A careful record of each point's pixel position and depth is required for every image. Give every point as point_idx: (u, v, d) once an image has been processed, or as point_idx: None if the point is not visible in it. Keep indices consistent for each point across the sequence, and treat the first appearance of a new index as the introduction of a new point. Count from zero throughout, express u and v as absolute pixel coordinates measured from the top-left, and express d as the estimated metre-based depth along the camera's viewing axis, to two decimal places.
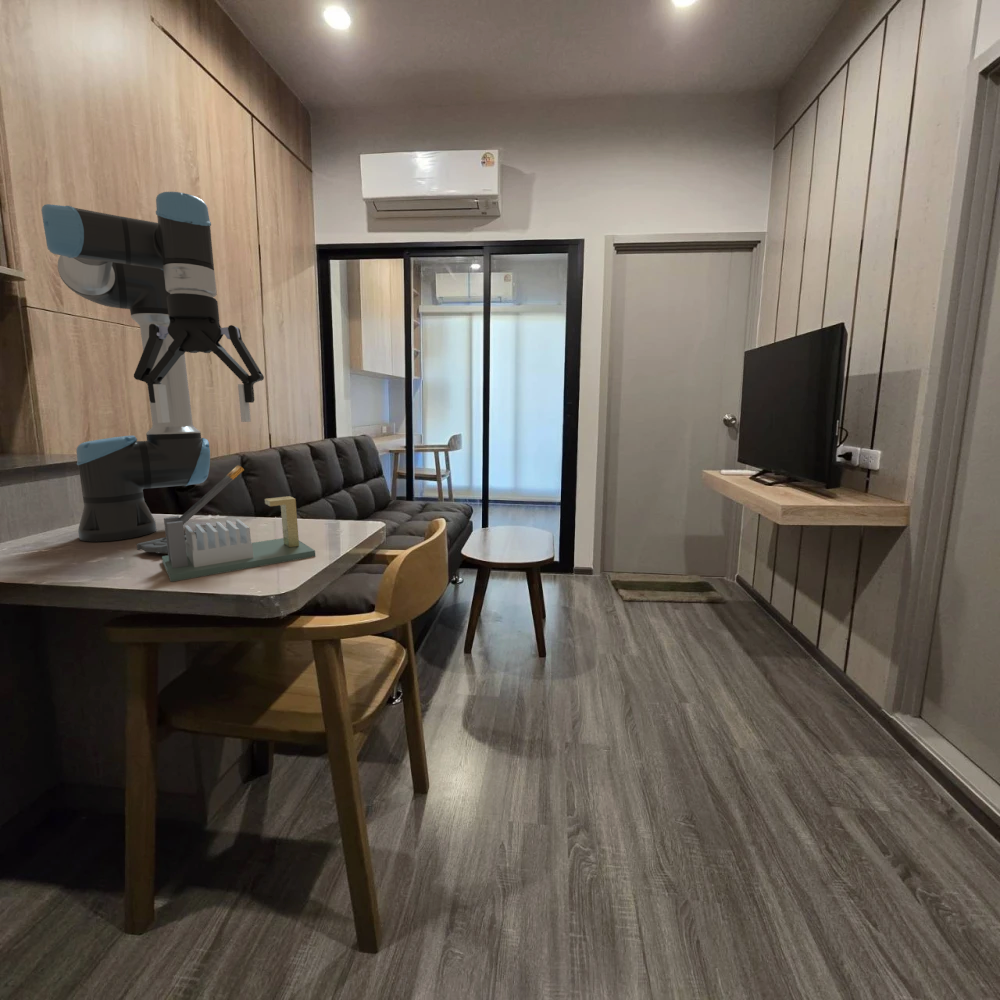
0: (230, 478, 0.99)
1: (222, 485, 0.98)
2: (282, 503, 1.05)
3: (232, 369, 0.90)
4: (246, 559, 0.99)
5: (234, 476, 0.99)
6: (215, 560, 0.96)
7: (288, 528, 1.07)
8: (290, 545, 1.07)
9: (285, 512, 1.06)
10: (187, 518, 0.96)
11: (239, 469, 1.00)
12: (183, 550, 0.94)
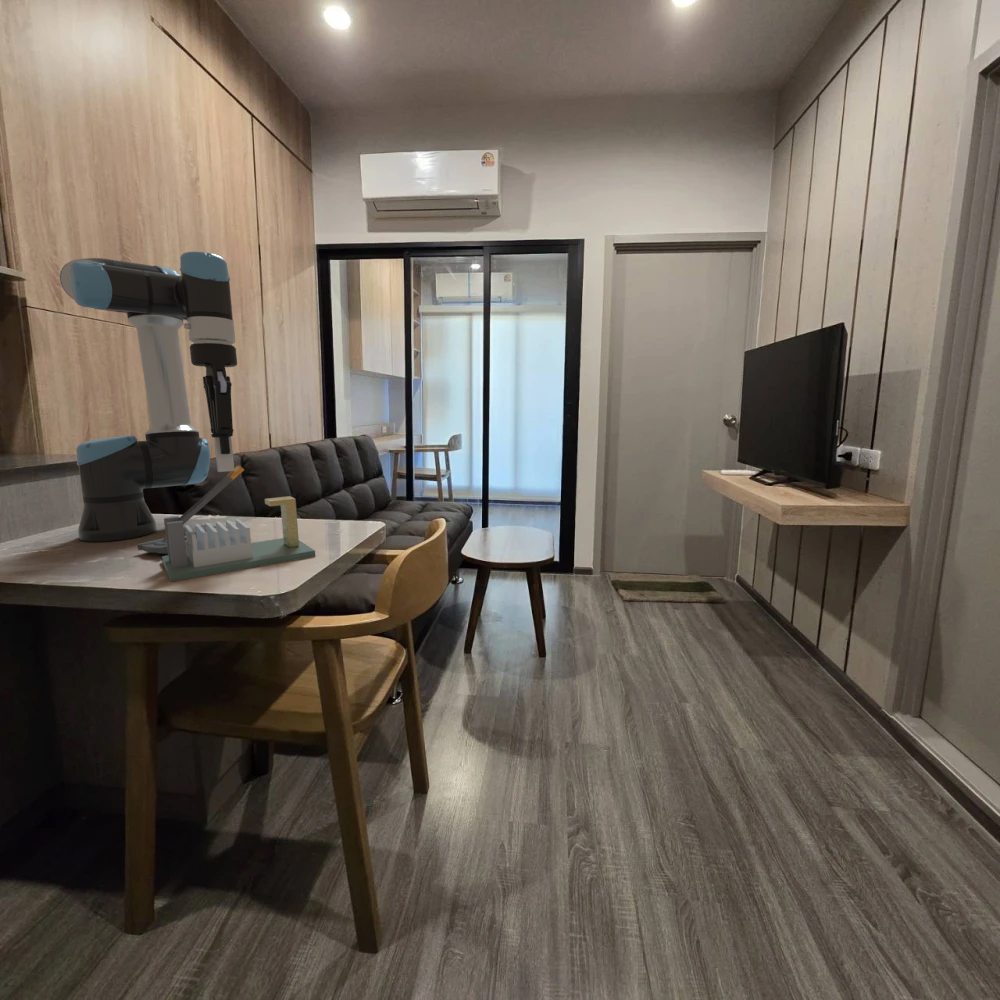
0: (230, 478, 0.99)
1: (222, 485, 0.98)
2: (282, 503, 1.05)
3: (214, 419, 0.97)
4: (246, 559, 0.99)
5: (234, 476, 0.99)
6: (215, 560, 0.96)
7: (288, 528, 1.07)
8: (290, 545, 1.07)
9: (285, 512, 1.06)
10: (187, 518, 0.96)
11: (239, 469, 1.00)
12: (183, 550, 0.94)
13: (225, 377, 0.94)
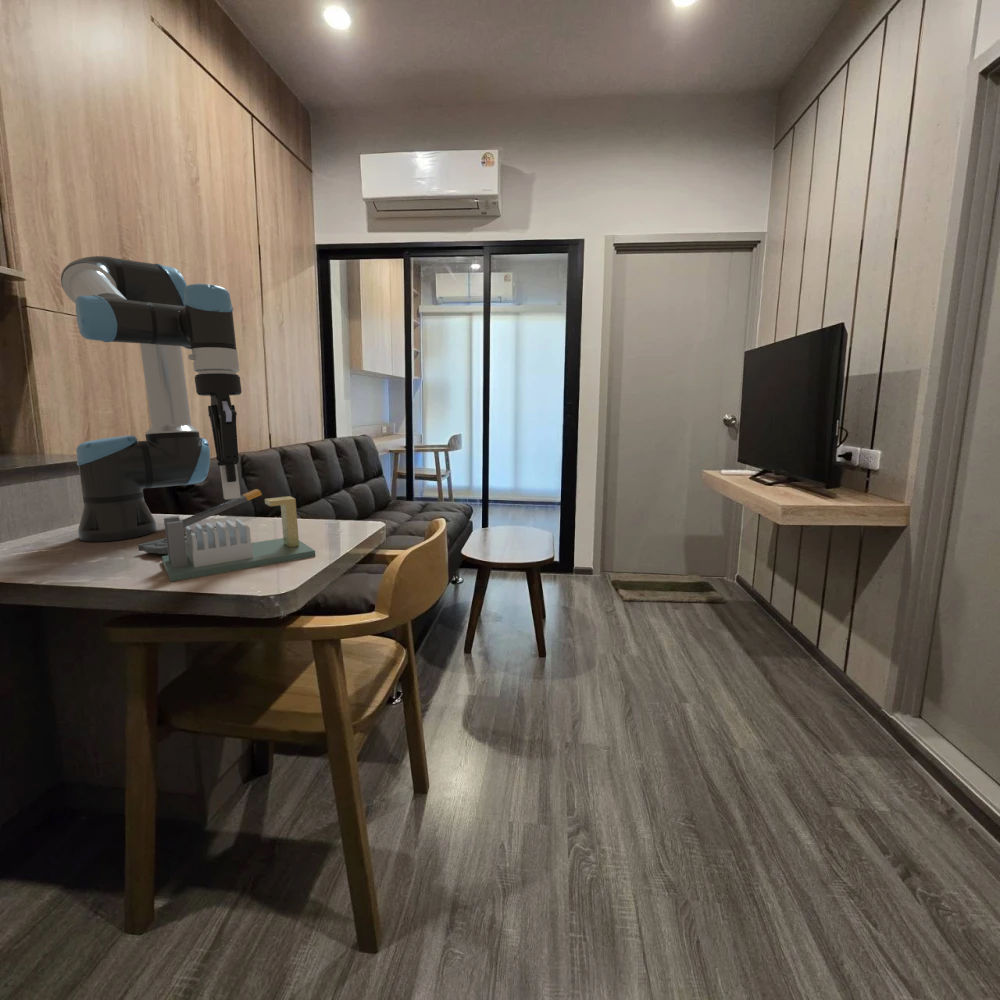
0: (246, 498, 1.01)
1: (236, 502, 1.00)
2: (282, 503, 1.05)
3: (220, 447, 0.97)
4: (246, 559, 0.99)
5: (250, 497, 1.02)
6: (215, 560, 0.96)
7: (288, 528, 1.07)
8: (290, 545, 1.07)
9: (285, 512, 1.06)
10: (190, 522, 0.96)
11: (257, 492, 1.02)
12: (183, 550, 0.94)
13: (230, 406, 0.95)
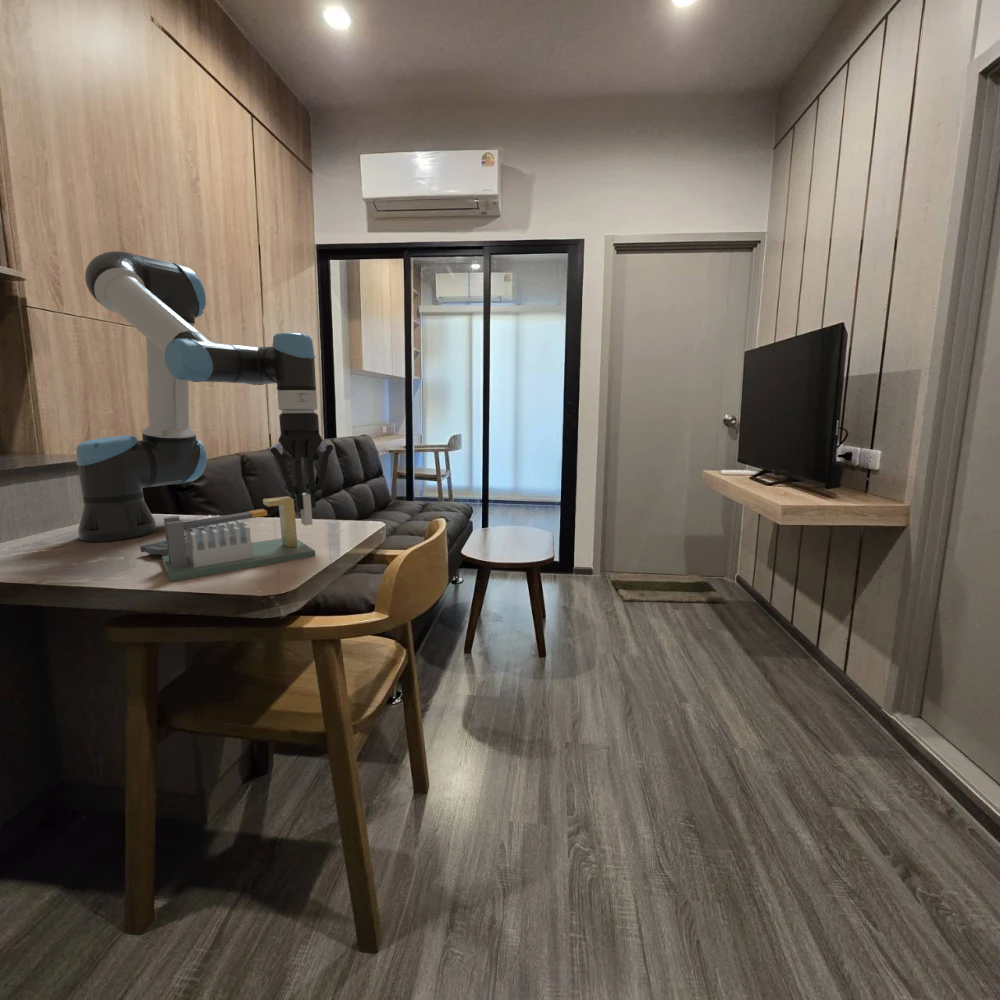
0: (251, 515, 1.02)
1: (241, 517, 1.01)
2: (280, 503, 1.05)
3: (310, 478, 1.09)
4: (246, 559, 0.99)
5: (255, 515, 1.03)
6: (215, 560, 0.96)
7: (286, 528, 1.06)
8: (288, 545, 1.07)
9: (283, 512, 1.06)
10: (192, 526, 0.96)
11: (264, 512, 1.04)
12: (183, 550, 0.94)
13: None
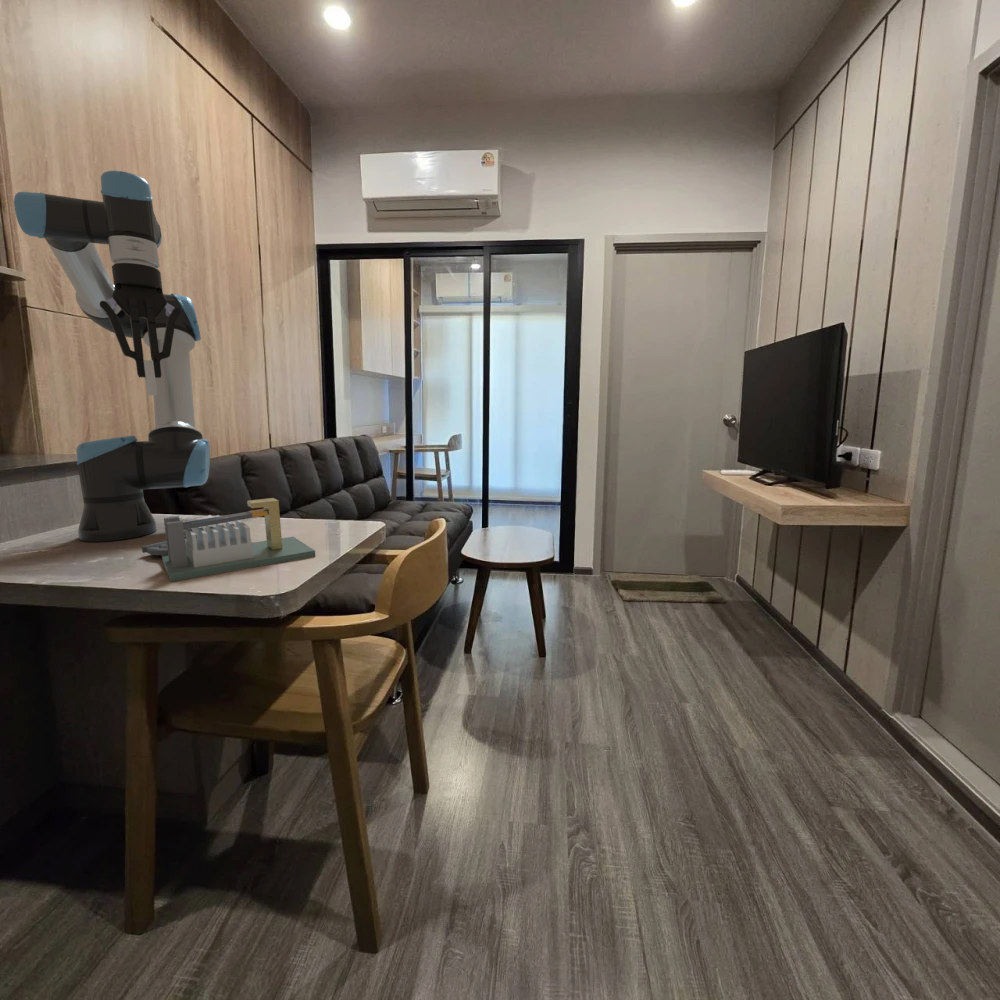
0: (251, 515, 1.02)
1: (241, 517, 1.01)
2: (265, 505, 1.03)
3: (152, 341, 0.99)
4: (246, 559, 0.99)
5: (255, 515, 1.03)
6: (215, 560, 0.96)
7: (271, 530, 1.05)
8: (273, 548, 1.05)
9: (268, 514, 1.04)
10: (192, 526, 0.96)
11: (264, 512, 1.04)
12: (183, 550, 0.94)
13: None
